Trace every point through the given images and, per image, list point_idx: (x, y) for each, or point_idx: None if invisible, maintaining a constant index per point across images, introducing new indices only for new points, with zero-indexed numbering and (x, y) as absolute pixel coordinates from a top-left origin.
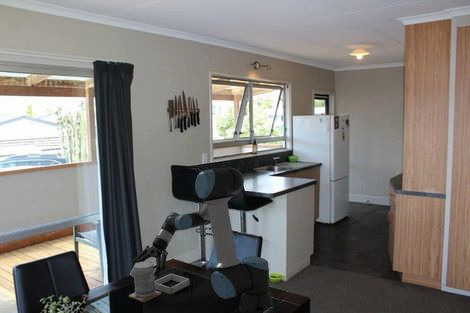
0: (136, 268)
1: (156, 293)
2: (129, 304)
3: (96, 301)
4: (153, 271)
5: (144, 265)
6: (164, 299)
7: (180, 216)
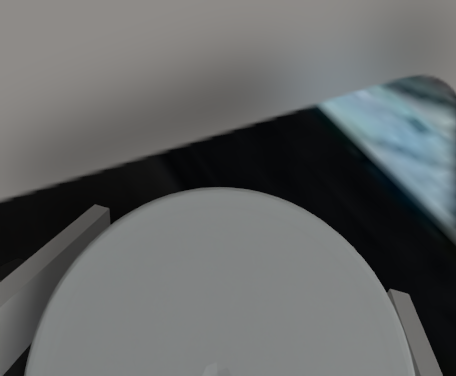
0: (256, 194)
1: None
2: (250, 166)
3: (448, 140)
4: (17, 283)
5: (170, 335)
6: None
7: None
